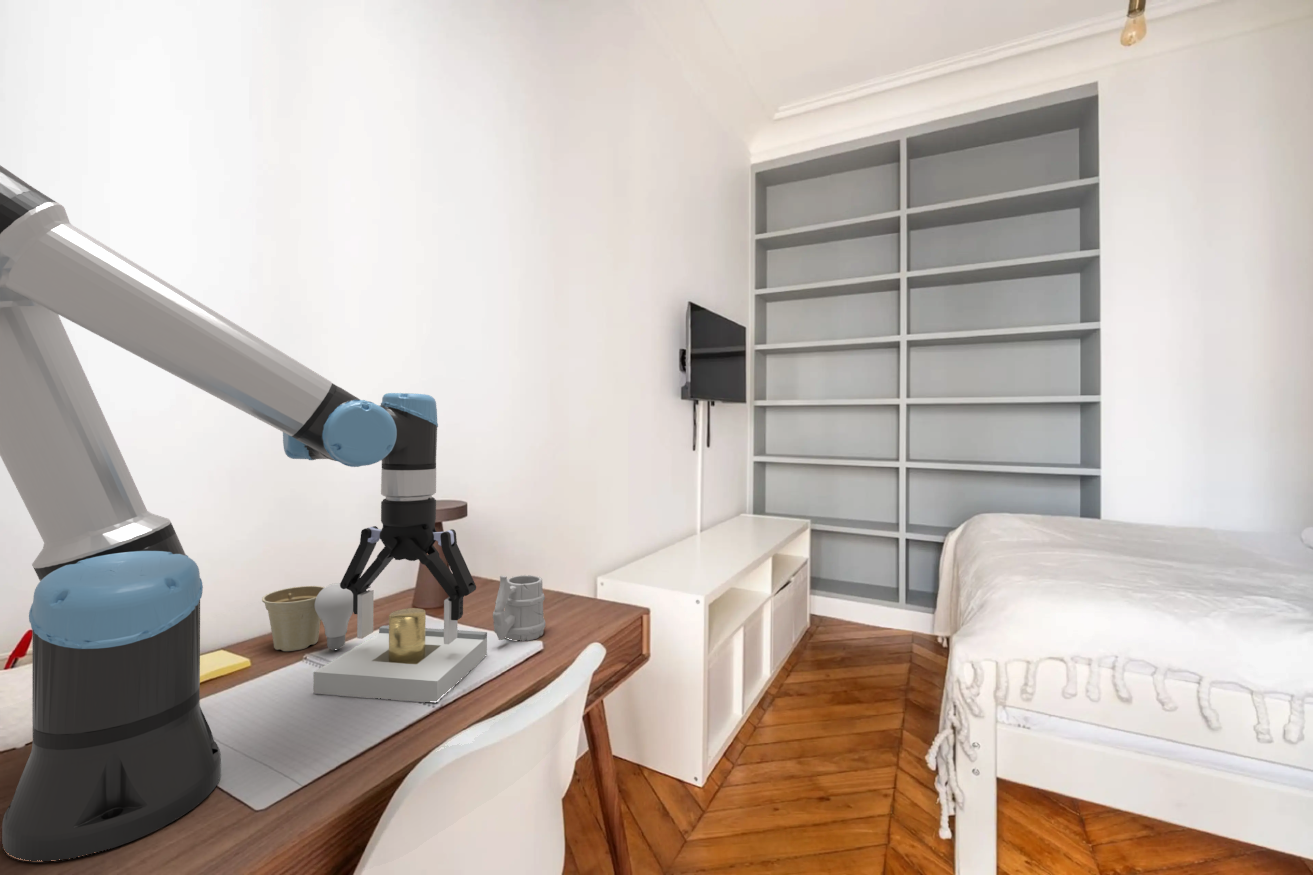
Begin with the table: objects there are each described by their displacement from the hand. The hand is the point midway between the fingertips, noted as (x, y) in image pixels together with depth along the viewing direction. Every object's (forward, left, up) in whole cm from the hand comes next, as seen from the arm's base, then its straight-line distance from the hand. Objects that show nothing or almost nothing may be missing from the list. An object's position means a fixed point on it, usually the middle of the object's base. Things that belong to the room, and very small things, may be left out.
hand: (407, 638), depth 84 cm
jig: (0, 0, -5) cm, 5 cm away
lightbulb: (+6, +16, -5) cm, 18 cm away
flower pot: (+7, +24, -6) cm, 26 cm away
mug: (+16, -11, -6) cm, 20 cm away
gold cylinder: (0, 0, -5) cm, 5 cm away
